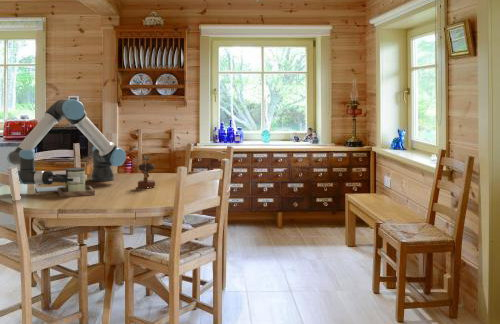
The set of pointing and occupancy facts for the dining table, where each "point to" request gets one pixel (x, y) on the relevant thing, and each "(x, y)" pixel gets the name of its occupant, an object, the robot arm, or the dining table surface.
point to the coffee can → (75, 185)
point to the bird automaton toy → (146, 174)
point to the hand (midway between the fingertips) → (83, 178)
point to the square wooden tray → (75, 192)
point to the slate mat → (47, 189)
